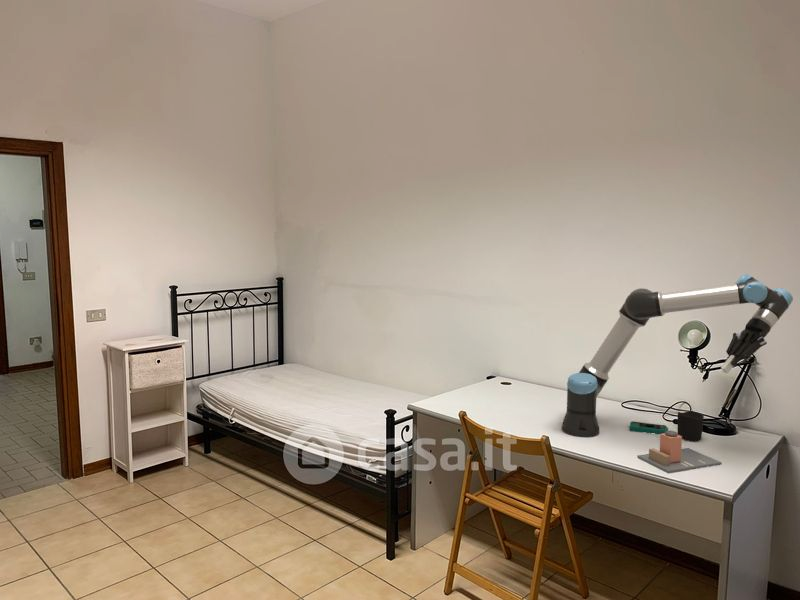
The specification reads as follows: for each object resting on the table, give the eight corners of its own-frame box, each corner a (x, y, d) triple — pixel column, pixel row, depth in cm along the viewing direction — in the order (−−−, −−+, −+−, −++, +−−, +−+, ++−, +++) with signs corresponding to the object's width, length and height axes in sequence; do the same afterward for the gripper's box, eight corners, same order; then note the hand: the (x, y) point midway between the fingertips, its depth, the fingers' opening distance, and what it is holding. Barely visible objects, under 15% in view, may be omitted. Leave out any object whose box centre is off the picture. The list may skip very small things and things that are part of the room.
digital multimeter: (668, 436, 237) (668, 429, 237) (629, 432, 243) (629, 425, 243) (667, 431, 244) (668, 424, 244) (629, 426, 250) (630, 420, 250)
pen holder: (676, 432, 241) (678, 409, 240) (702, 436, 237) (703, 412, 236) (675, 439, 233) (677, 415, 232) (702, 443, 229) (703, 418, 228)
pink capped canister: (670, 456, 212) (671, 429, 211) (680, 461, 208) (682, 434, 207) (659, 457, 211) (660, 431, 210) (669, 462, 206) (671, 435, 205)
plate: (688, 449, 222) (688, 439, 221) (721, 464, 208) (722, 452, 207) (637, 457, 214) (637, 446, 213) (668, 473, 200) (669, 461, 199)
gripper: (782, 333, 212) (744, 381, 208) (750, 327, 224) (714, 373, 221) (772, 319, 210) (734, 368, 206) (740, 314, 222) (704, 360, 218)
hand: (724, 370), depth 213 cm, fingers closed
